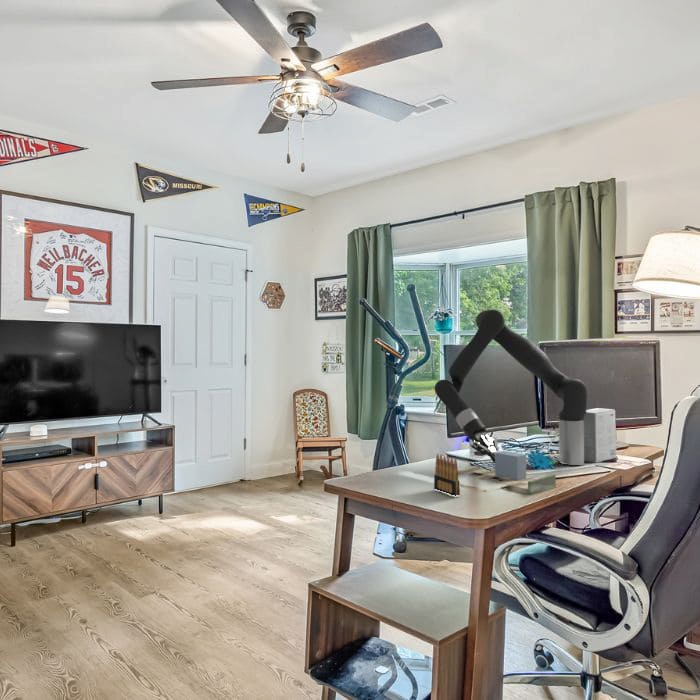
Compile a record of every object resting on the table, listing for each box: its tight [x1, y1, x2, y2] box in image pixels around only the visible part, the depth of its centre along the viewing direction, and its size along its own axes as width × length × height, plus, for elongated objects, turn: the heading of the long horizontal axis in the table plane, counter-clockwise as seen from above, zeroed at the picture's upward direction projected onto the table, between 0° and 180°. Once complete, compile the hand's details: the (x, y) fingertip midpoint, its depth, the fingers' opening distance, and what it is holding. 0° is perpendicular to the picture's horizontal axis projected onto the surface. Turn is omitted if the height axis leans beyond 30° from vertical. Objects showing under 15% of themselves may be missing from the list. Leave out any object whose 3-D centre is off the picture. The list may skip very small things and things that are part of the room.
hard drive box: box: [584, 407, 617, 464], centre depth 226 cm, size 16×8×20 cm, turn 126°
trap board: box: [458, 465, 557, 496], centre depth 193 cm, size 33×16×4 cm, turn 39°
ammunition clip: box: [433, 453, 461, 496], centre depth 177 cm, size 11×2×12 cm, turn 29°
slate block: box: [494, 450, 527, 480], centre depth 192 cm, size 9×5×8 cm, turn 39°
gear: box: [527, 449, 557, 471], centre depth 207 cm, size 11×6×10 cm
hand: (498, 462), depth 196 cm, fingers closed
